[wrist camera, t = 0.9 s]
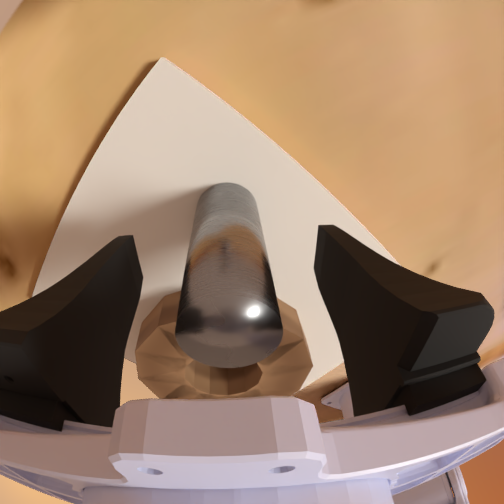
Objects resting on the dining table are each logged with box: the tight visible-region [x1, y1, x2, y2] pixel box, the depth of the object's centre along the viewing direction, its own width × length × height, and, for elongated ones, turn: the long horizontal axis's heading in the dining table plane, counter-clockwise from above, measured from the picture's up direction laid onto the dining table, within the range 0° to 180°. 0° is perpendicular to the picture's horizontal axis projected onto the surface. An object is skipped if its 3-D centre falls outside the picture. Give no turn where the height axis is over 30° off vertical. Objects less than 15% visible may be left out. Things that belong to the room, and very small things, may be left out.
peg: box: [175, 182, 283, 368], centre depth 12 cm, size 3×3×8 cm
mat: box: [32, 57, 401, 394], centre depth 19 cm, size 22×18×1 cm
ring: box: [135, 291, 313, 399], centre depth 19 cm, size 11×11×2 cm
